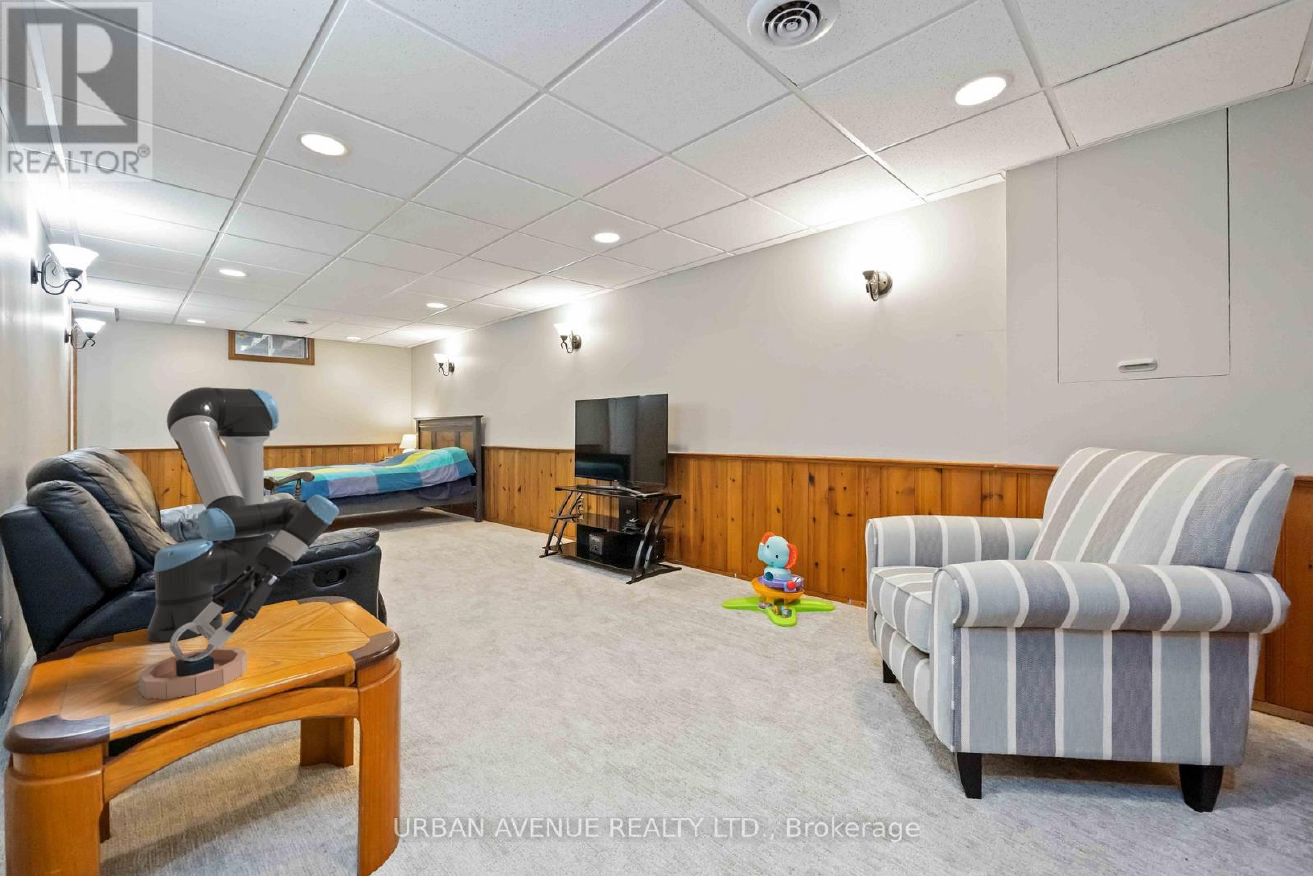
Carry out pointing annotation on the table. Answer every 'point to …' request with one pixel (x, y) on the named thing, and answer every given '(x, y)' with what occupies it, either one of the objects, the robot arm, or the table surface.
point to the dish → (168, 685)
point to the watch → (195, 662)
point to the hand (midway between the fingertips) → (202, 638)
